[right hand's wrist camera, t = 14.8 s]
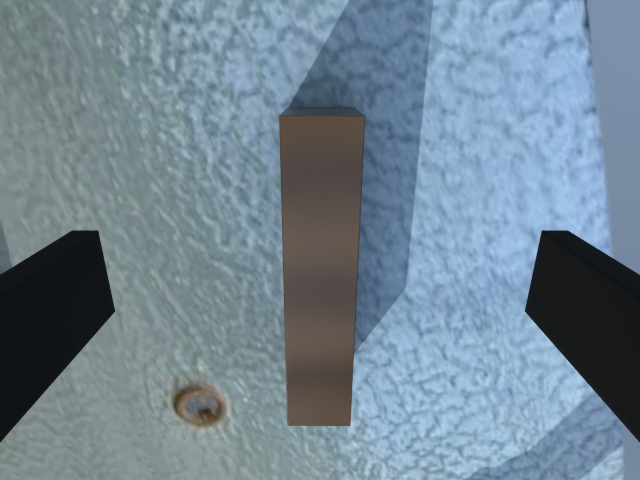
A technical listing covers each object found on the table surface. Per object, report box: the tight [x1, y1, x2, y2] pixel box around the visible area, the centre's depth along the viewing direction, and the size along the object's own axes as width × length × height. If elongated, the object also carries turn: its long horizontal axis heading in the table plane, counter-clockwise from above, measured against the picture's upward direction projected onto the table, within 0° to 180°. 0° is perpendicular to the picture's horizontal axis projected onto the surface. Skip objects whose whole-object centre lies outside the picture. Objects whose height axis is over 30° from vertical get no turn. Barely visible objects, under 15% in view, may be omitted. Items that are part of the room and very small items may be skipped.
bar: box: [279, 107, 365, 426], centre depth 35 cm, size 26×6×8 cm, turn 179°
